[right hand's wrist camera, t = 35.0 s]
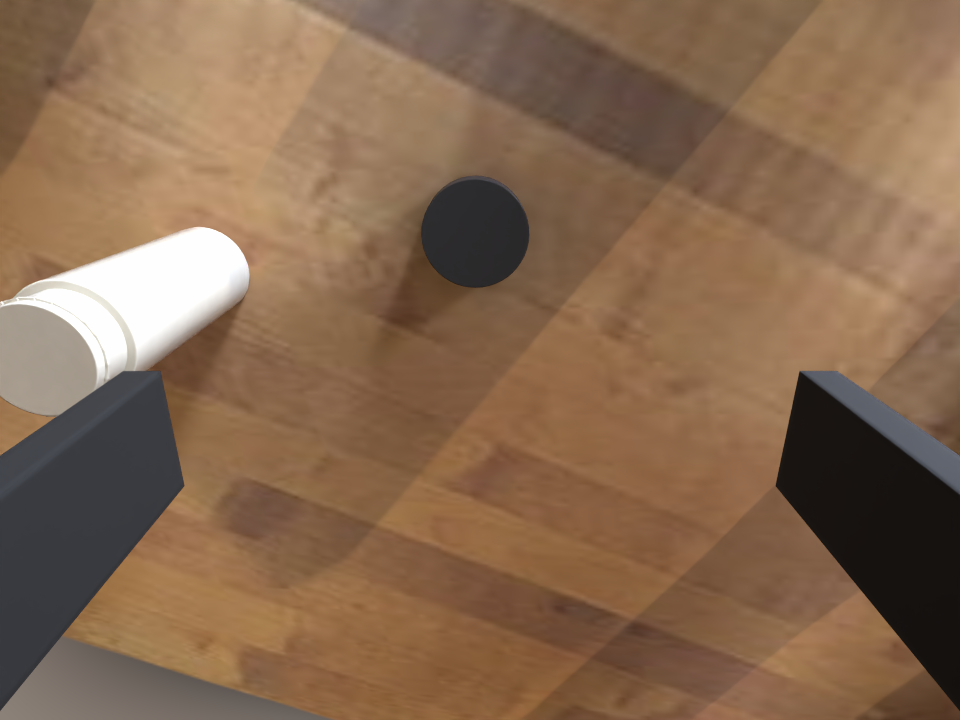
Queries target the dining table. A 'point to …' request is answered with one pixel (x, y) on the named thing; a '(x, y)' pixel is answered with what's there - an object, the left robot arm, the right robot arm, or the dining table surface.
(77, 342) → the white cylinder
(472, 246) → the lid
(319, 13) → the dining table surface
